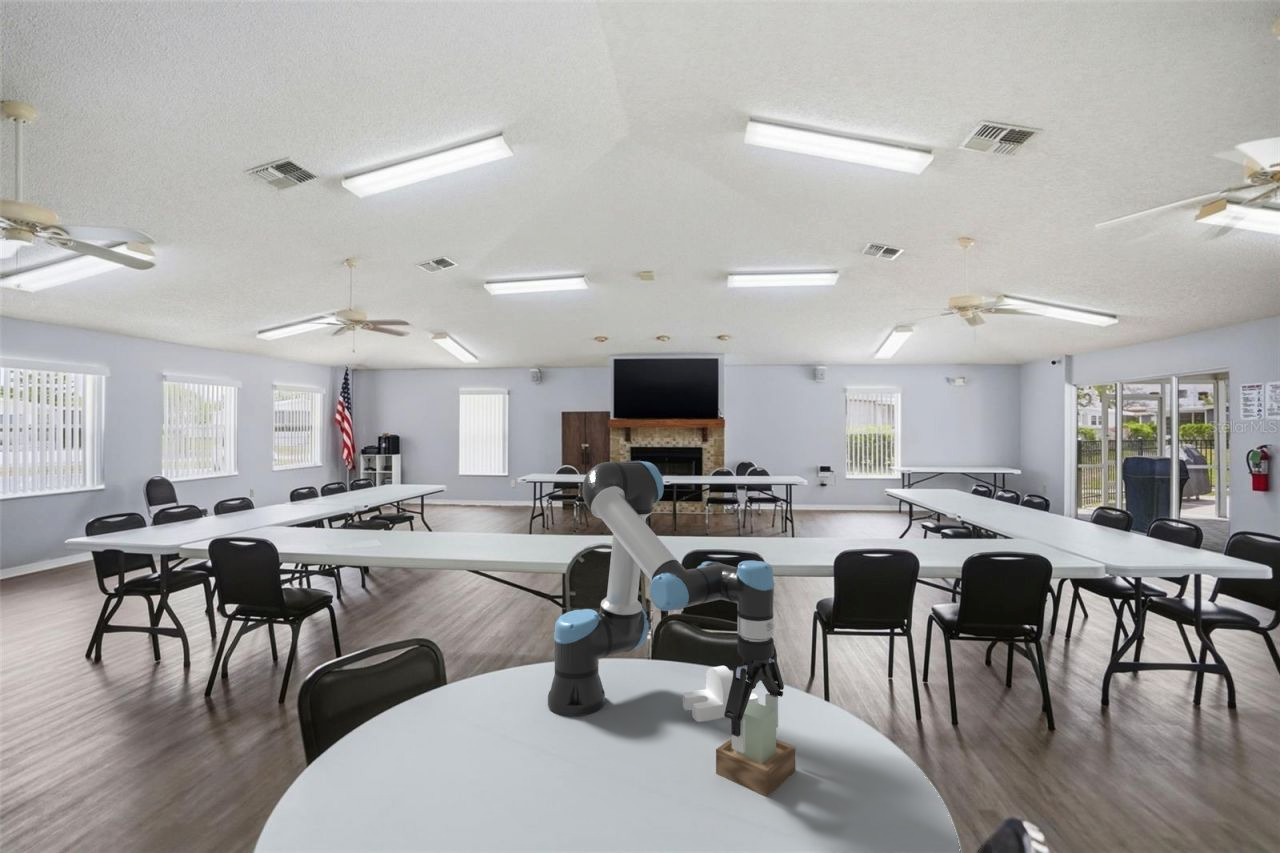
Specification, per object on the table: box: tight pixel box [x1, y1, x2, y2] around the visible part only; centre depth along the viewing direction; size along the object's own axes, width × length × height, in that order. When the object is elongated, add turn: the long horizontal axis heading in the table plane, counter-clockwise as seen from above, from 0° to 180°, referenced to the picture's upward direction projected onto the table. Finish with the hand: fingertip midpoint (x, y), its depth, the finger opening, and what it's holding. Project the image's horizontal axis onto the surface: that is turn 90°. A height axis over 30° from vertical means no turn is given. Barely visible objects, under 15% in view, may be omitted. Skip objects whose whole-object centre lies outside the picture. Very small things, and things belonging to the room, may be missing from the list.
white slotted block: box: [682, 665, 759, 723], centre depth 151 cm, size 10×18×11 cm, turn 111°
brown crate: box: [715, 737, 796, 798], centre depth 122 cm, size 12×12×5 cm
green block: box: [736, 701, 777, 764], centre depth 122 cm, size 6×6×9 cm
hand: (755, 737), depth 122 cm, fingers open, 13 cm apart
